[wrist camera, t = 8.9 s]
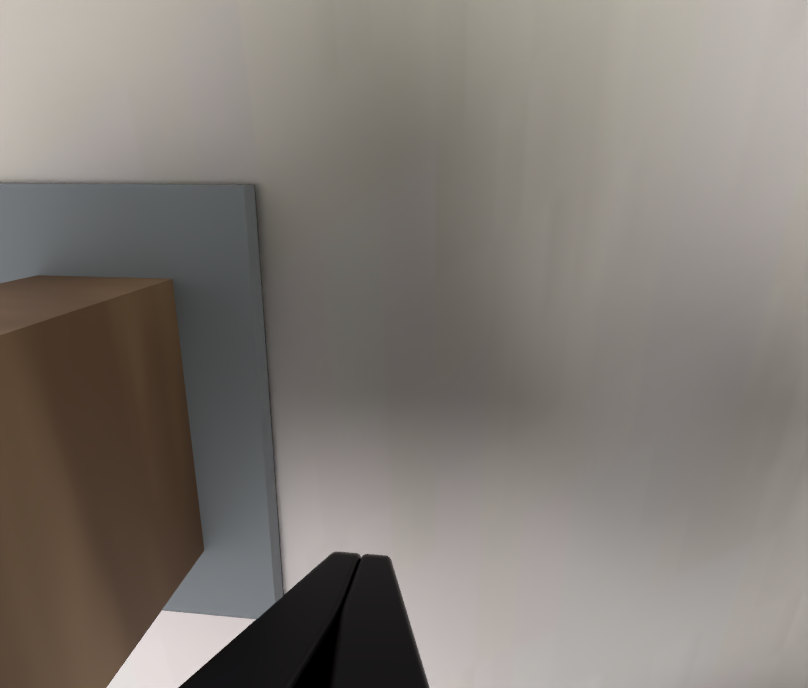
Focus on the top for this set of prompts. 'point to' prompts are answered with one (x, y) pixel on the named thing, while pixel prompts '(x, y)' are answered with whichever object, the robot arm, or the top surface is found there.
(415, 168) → the top surface
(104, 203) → the mat
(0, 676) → the walnut slab
